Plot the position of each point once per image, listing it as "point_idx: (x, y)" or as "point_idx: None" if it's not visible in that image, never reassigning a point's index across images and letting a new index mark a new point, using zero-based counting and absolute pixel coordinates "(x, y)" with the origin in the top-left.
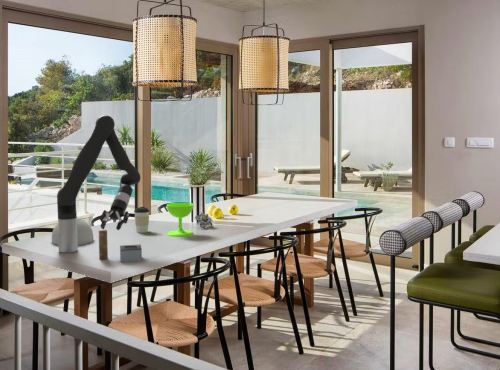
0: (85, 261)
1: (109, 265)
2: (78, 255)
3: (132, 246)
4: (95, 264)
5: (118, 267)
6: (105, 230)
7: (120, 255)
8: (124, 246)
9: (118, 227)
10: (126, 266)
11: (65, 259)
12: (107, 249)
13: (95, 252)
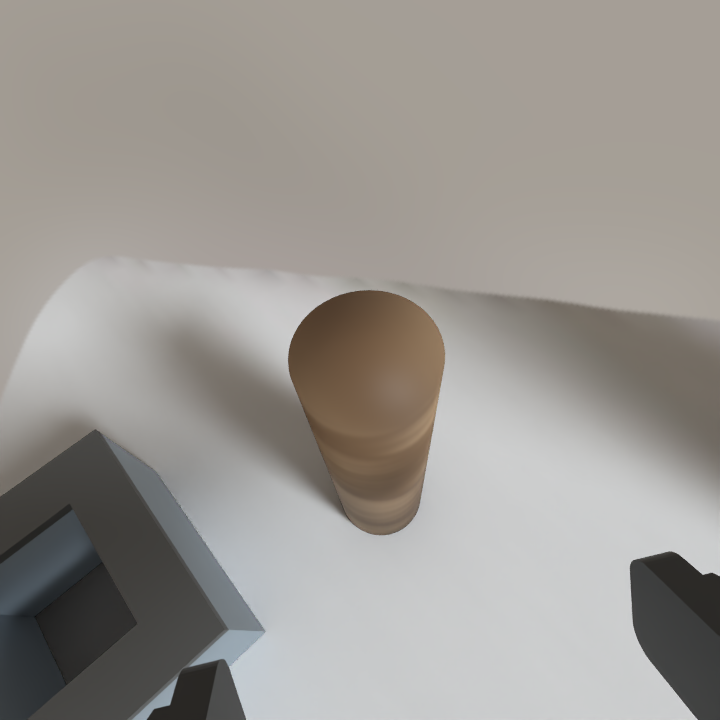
0: None
1: (186, 352)
2: (706, 476)
3: (42, 709)
4: None
5: (91, 343)
6: (327, 381)
7: (126, 452)
8: (128, 602)
9: (164, 707)
10: (43, 389)
11: (638, 321)
12: (337, 492)
13: None
